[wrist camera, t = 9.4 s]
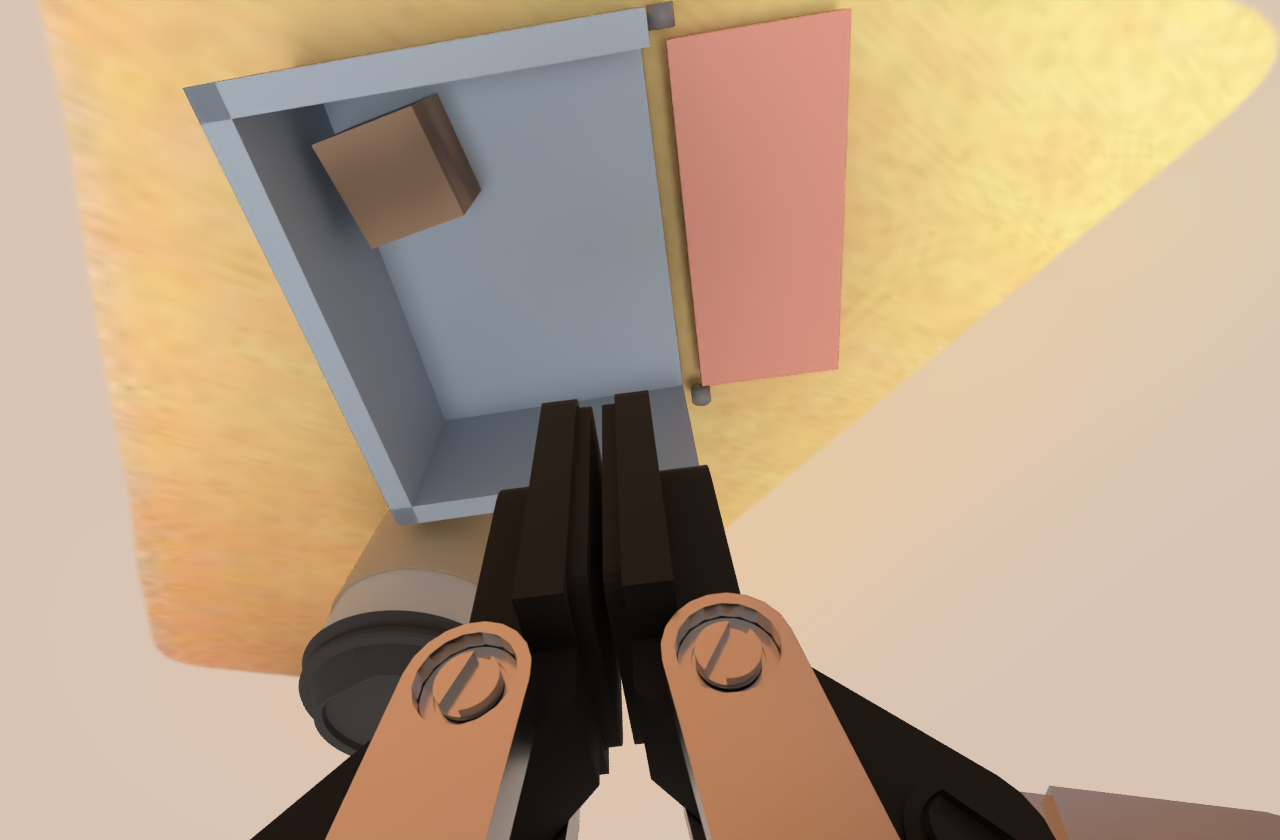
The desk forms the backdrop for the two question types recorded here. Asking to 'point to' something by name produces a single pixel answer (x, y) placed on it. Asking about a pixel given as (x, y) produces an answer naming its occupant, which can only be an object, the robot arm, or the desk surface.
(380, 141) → the cargo block
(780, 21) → the tailgate
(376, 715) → the coffee cup
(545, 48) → the tray
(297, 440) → the desk surface
